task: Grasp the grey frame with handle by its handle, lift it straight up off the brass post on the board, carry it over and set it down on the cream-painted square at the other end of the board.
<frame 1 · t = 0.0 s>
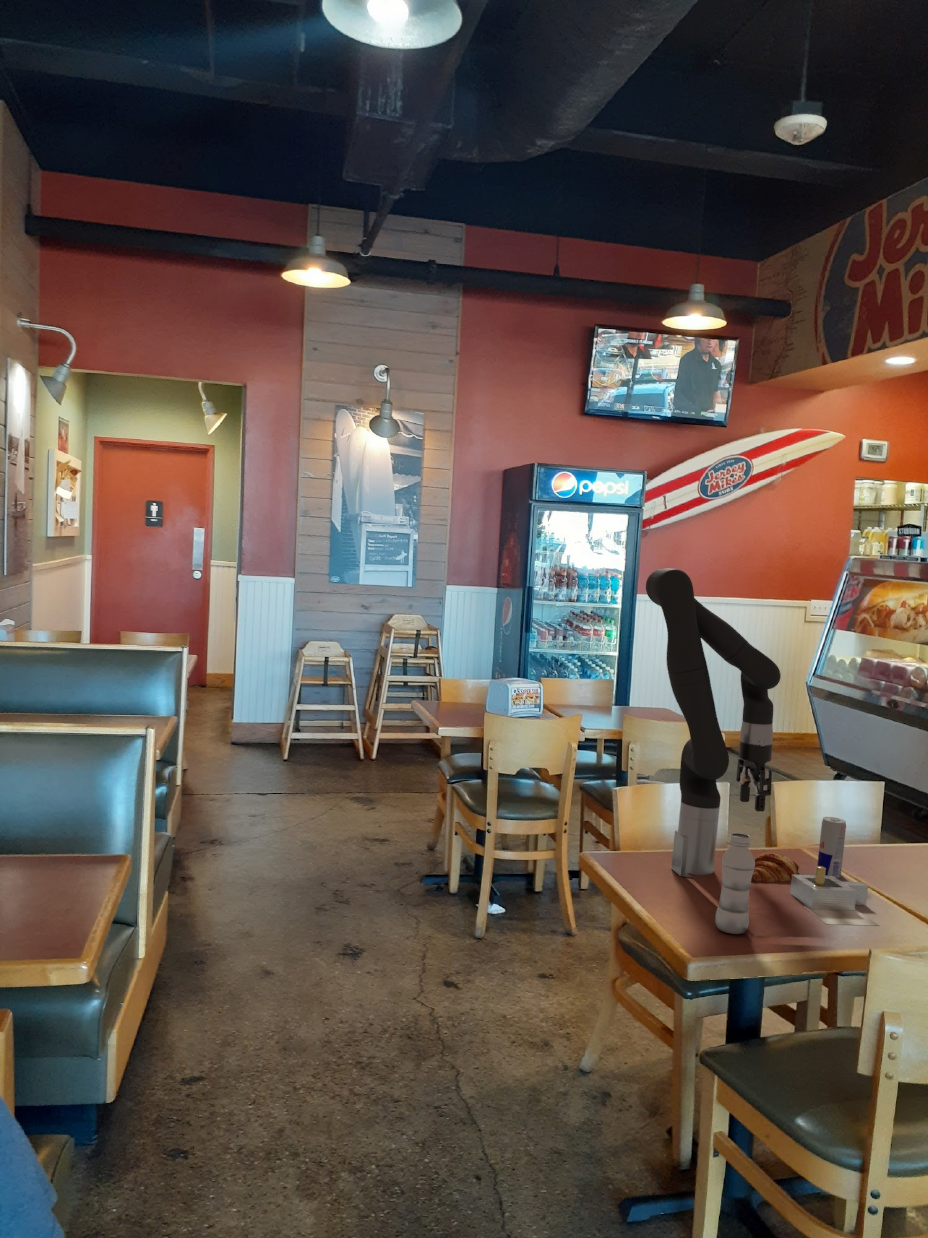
hand: (751, 806, 227), 17 cm above the table, tool pointing down, fingers open, 8 cm apart
board: (832, 914, 205), on the table
beverage can: (828, 879, 231), on the table
grey frame with handle: (821, 902, 209), point 1 cm above the table, touching board
croissant: (774, 881, 227), on the table
post: (817, 902, 209), resting on board
plastic bottle: (730, 932, 190), on the table
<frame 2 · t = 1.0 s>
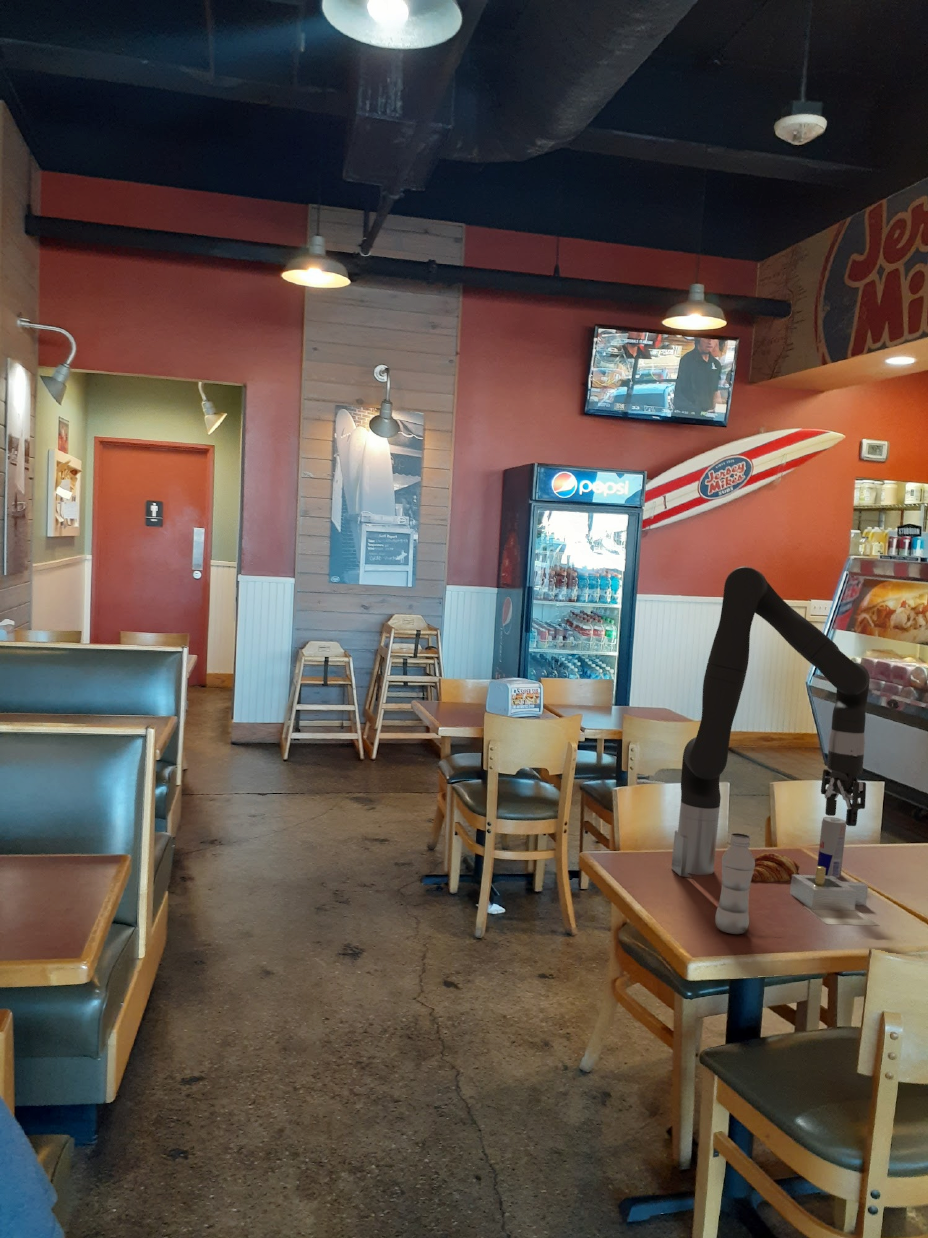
hand: (840, 820, 213), 19 cm above the table, tool pointing down, fingers open, 8 cm apart
nothing on the table moved.
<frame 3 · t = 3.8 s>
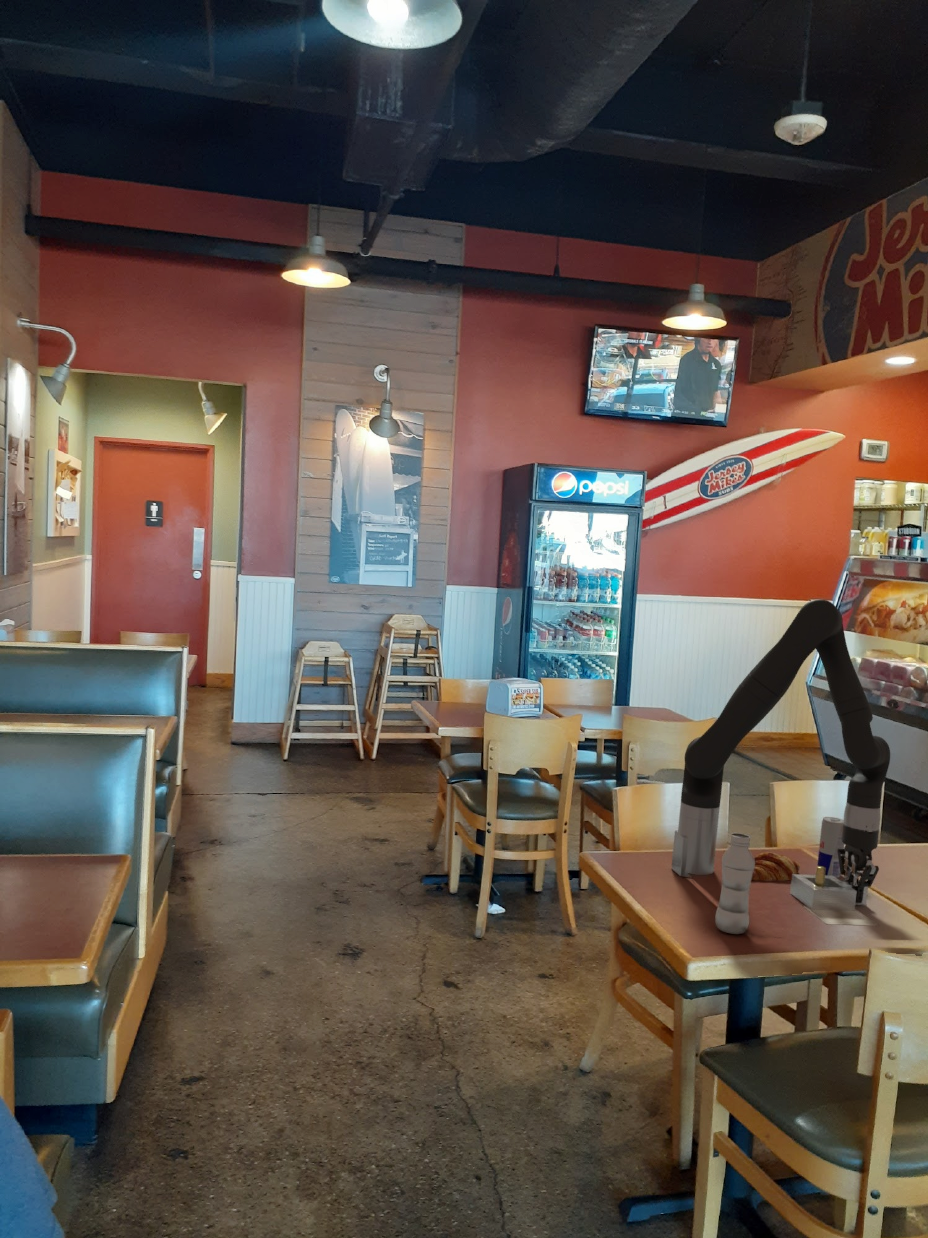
hand: (853, 899, 210), 2 cm above the table, tool pointing down, fingers closed on grey frame with handle, 2 cm apart
grey frame with handle: (821, 902, 209), point 1 cm above the table, touching board, gripper
everything else where it was.
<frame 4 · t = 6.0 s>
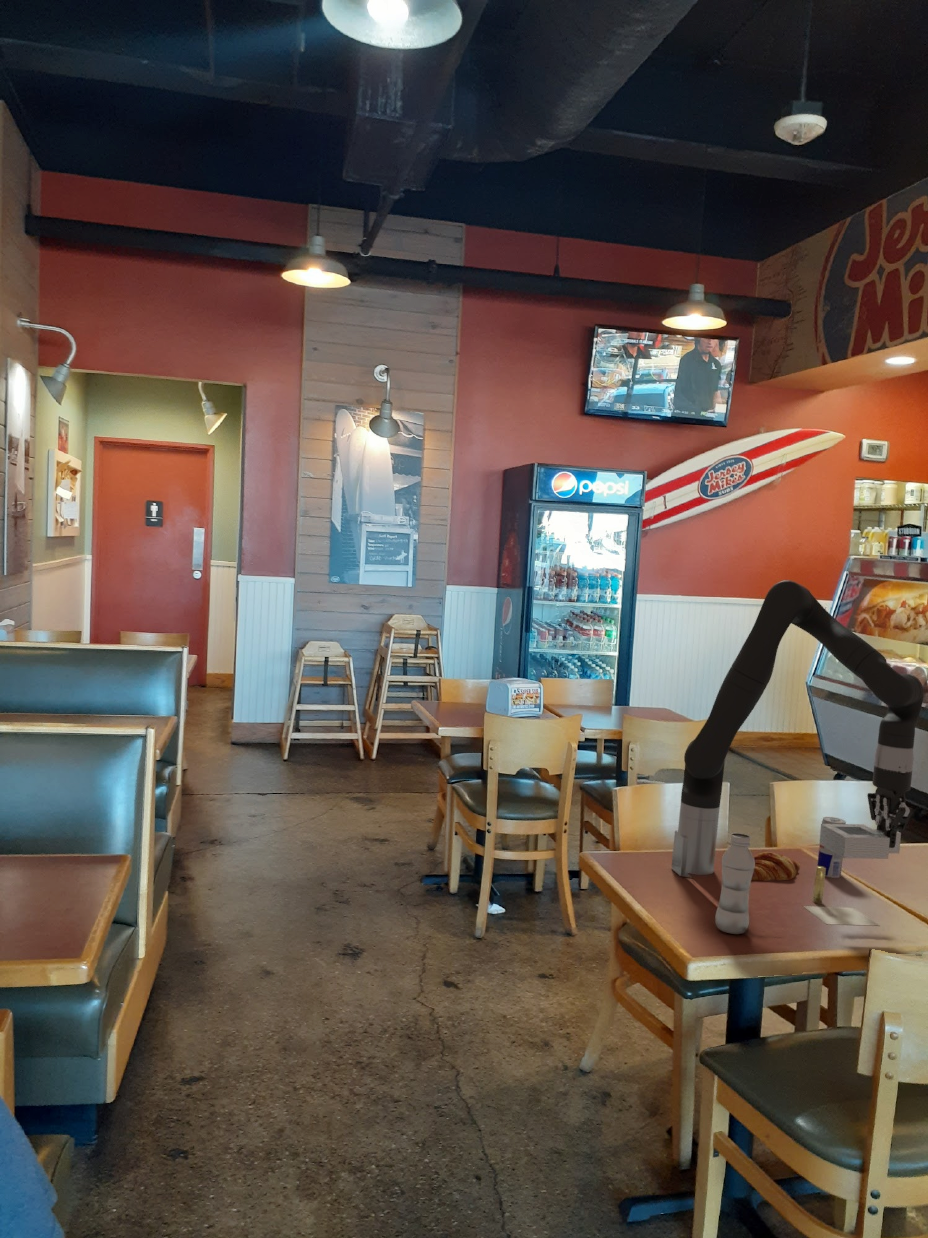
hand: (885, 844, 201), 17 cm above the table, tool pointing down, fingers closed on grey frame with handle, 2 cm apart
grey frame with handle: (853, 851, 200), point 15 cm above the table, touching gripper
everything else where it was.
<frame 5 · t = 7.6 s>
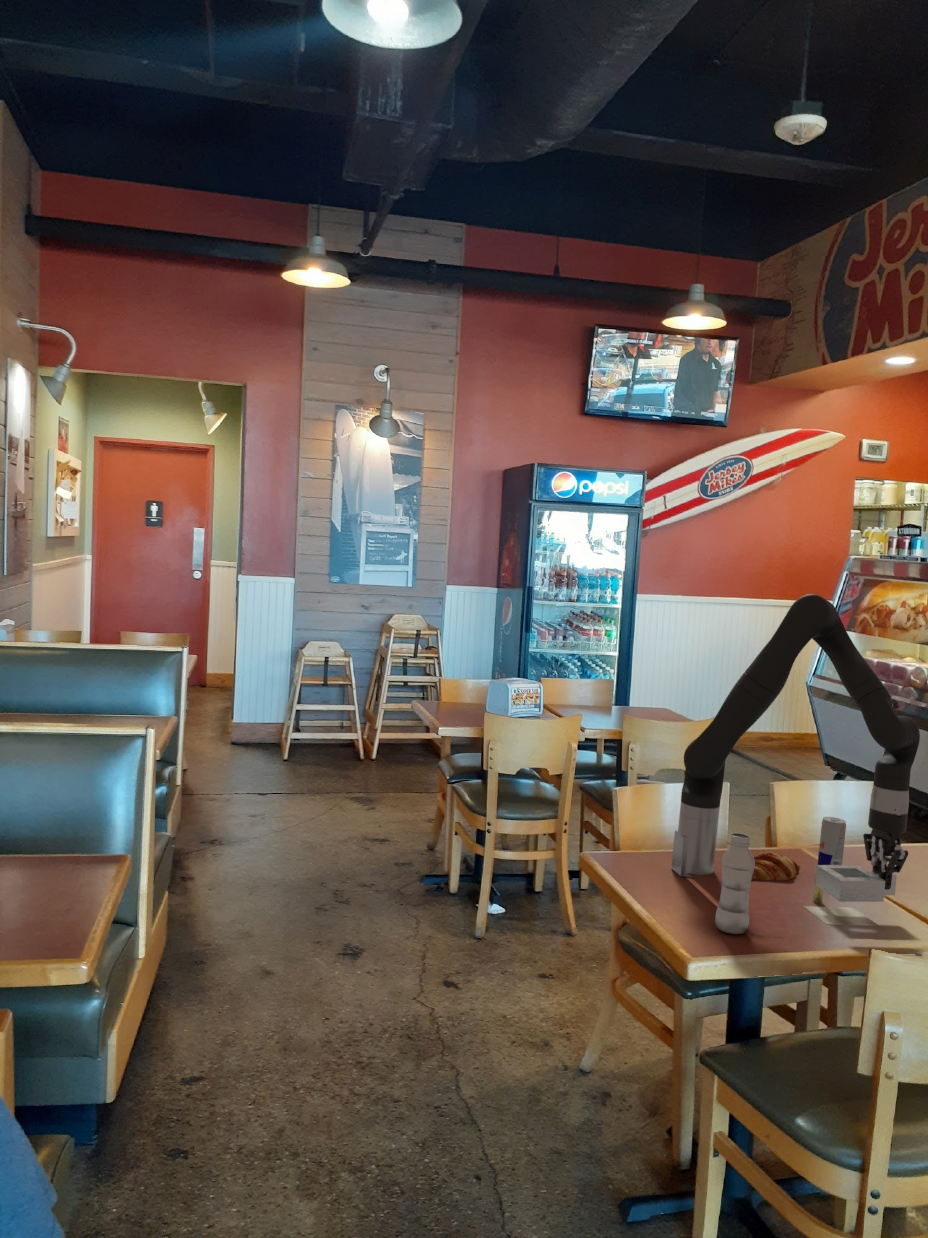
hand: (880, 886, 202), 8 cm above the table, tool pointing down, fingers closed on grey frame with handle, 2 cm apart
grey frame with handle: (848, 893, 201), point 6 cm above the table, touching gripper
everything else where it was.
when the fingers open (4 cm above the table, at t = 8.7 s): grey frame with handle stays where it is, resting on board.
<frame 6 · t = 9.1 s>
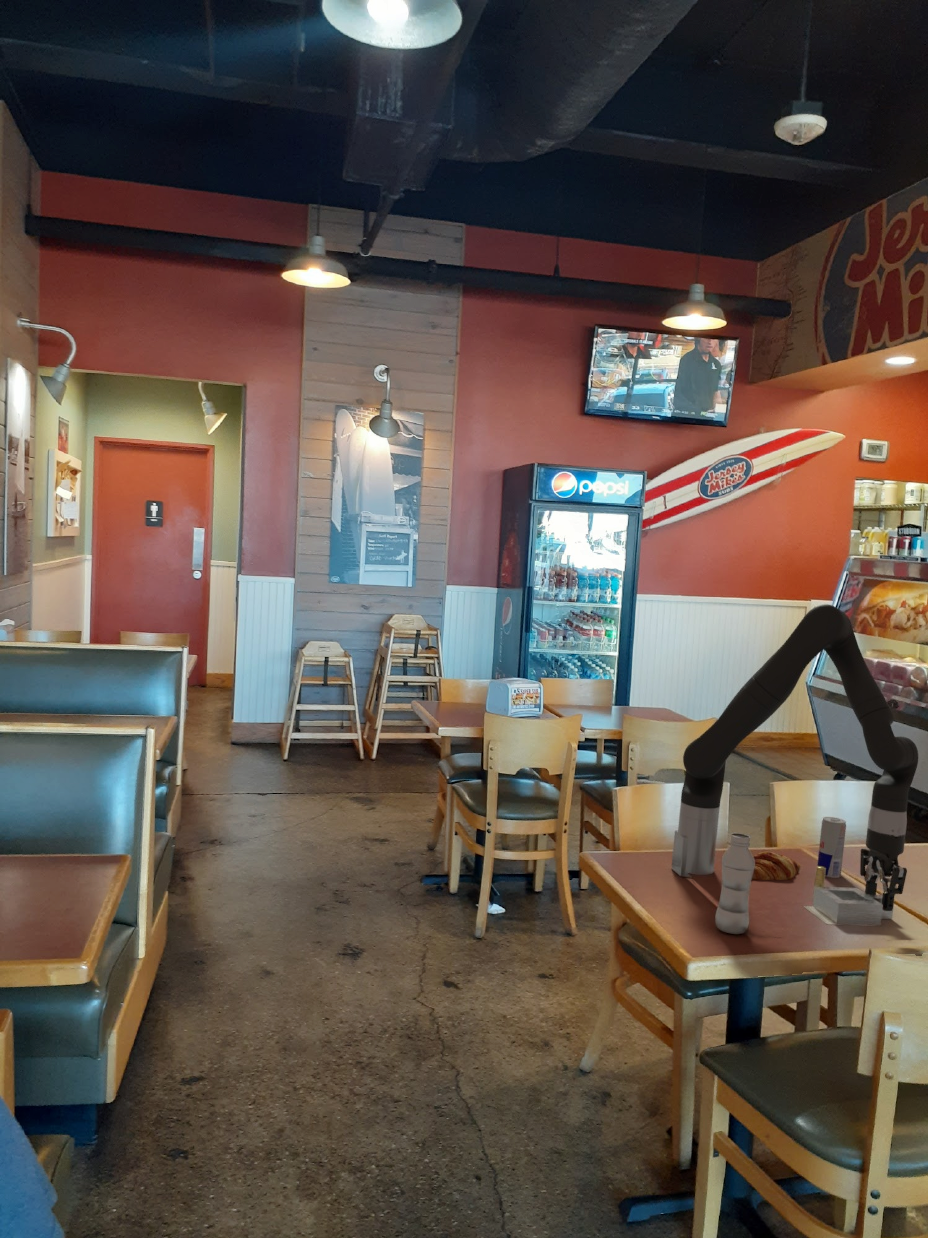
hand: (878, 904, 202), 4 cm above the table, tool pointing down, fingers open, 6 cm apart
grey frame with handle: (845, 915, 201), point 1 cm above the table, touching board
everything else where it was.
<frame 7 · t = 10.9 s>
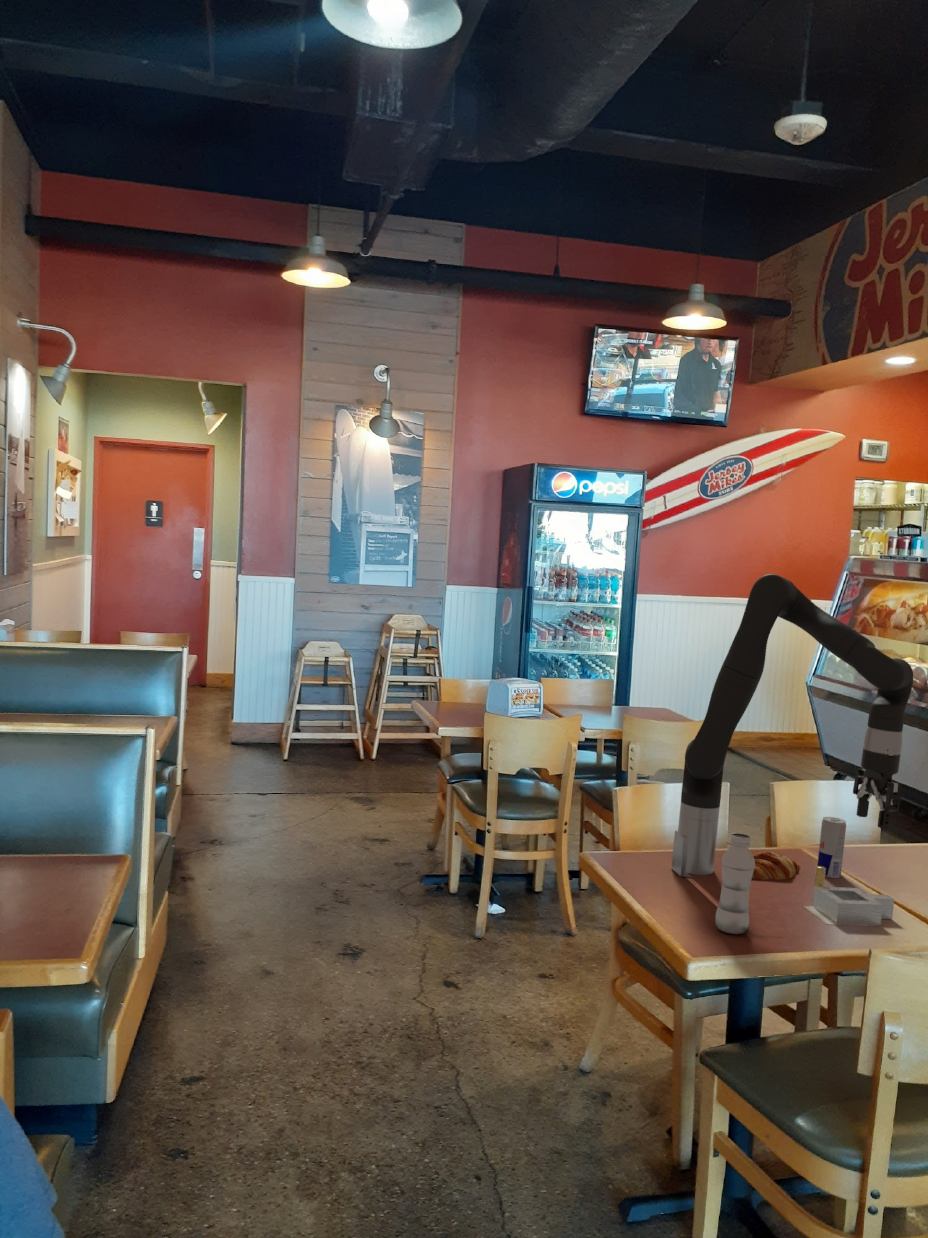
hand: (872, 822, 203), 21 cm above the table, tool pointing down, fingers open, 8 cm apart
nothing on the table moved.
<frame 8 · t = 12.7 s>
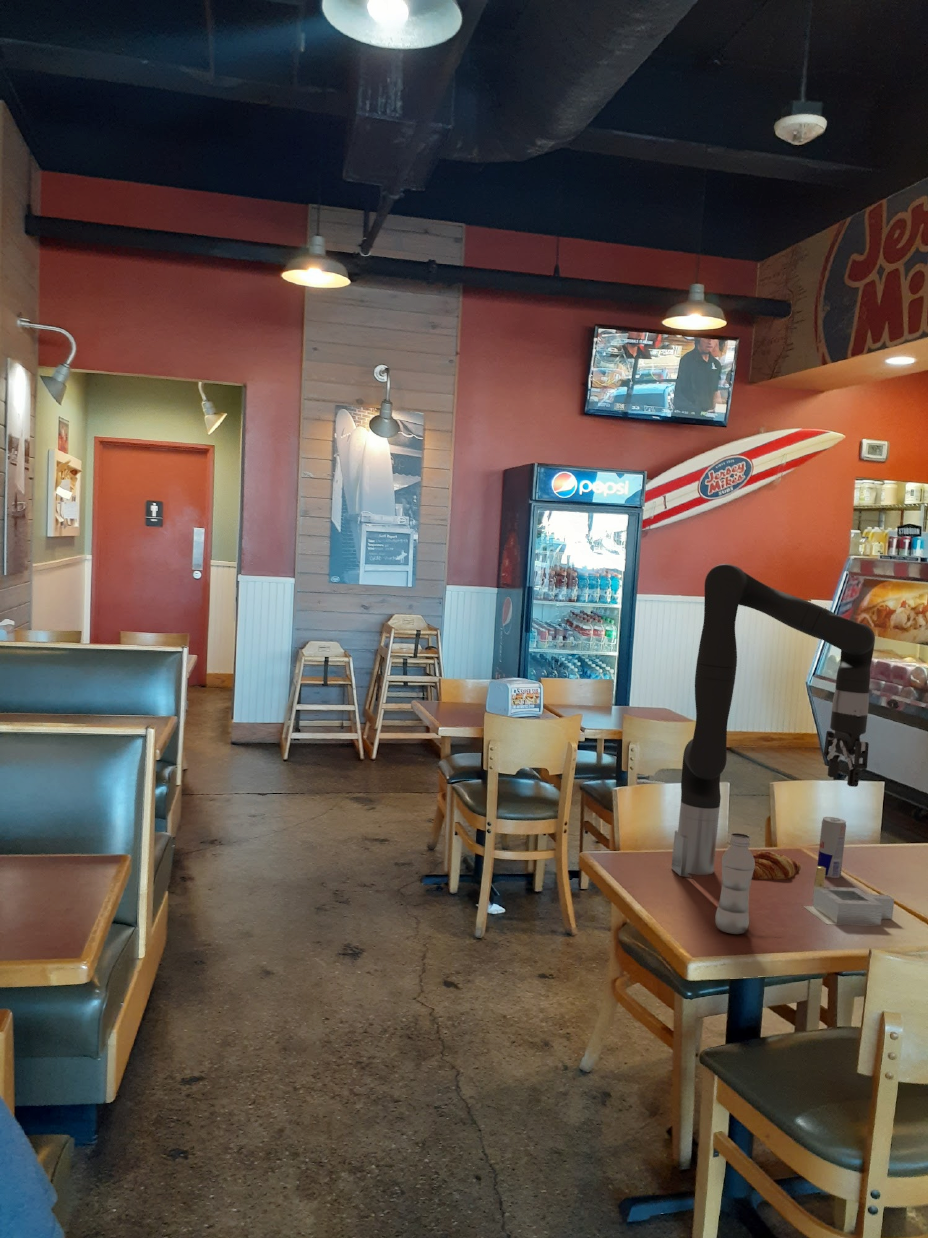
hand: (842, 781, 211), 28 cm above the table, tool pointing down, fingers open, 8 cm apart
at the end: grey frame with handle inside the target area (0.8 cm from its centre), point 1.3 cm above the table; grey frame with handle touching board; the gripper is holding nothing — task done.
